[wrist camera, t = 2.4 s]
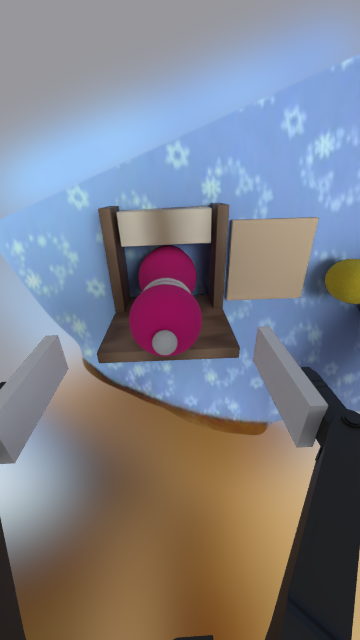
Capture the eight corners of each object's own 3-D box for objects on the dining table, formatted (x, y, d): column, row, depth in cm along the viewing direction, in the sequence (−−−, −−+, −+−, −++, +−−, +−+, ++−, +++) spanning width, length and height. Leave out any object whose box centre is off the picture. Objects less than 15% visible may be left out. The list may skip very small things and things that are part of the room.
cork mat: (315, 217, 31) (318, 217, 30) (297, 295, 36) (300, 297, 36) (231, 219, 31) (232, 220, 30) (225, 298, 36) (226, 300, 35)
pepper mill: (145, 292, 35) (118, 392, 18) (139, 242, 32) (100, 302, 14) (193, 290, 35) (216, 387, 18) (193, 240, 32) (220, 297, 14)
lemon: (309, 288, 36) (342, 312, 29) (321, 251, 33) (362, 267, 26) (344, 291, 36) (385, 314, 29) (359, 254, 34) (409, 270, 27)
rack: (220, 203, 30) (255, 210, 18) (215, 301, 36) (238, 357, 24) (109, 206, 30) (64, 216, 17) (123, 304, 36) (99, 363, 24)
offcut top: (207, 206, 28) (211, 208, 25) (207, 238, 29) (210, 242, 27) (121, 210, 28) (116, 212, 25) (126, 241, 29) (121, 246, 27)
